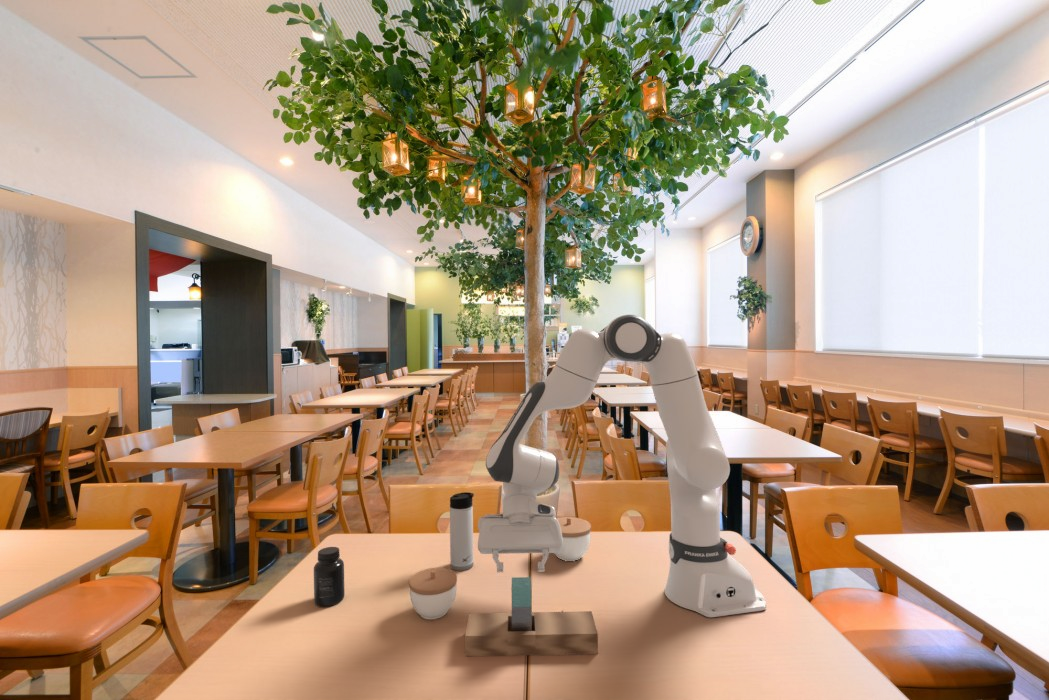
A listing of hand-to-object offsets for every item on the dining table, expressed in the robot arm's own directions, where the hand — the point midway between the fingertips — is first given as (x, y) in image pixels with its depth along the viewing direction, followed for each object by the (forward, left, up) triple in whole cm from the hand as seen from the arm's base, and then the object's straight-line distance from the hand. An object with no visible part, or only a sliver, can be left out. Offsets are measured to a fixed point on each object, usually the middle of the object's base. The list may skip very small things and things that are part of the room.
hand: (520, 571), depth 112 cm
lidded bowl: (-14, -28, -9) cm, 32 cm away
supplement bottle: (+46, -6, -9) cm, 47 cm away
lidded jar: (+20, 0, -9) cm, 22 cm away
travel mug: (+16, -23, -9) cm, 29 cm away
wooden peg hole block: (-2, +12, -9) cm, 15 cm away
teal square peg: (0, +12, -8) cm, 15 cm away
